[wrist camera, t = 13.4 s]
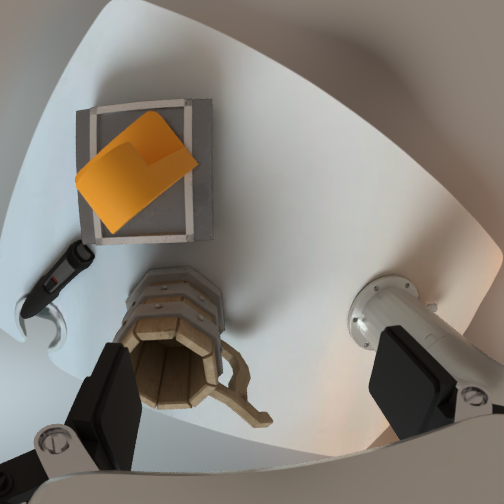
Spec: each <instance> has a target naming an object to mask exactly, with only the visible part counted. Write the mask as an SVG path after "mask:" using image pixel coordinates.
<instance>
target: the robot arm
mask: <svg viewBox="0 0 504 504" xmlns="http://www.w3.org/2000/svg"><path fill="white" fill-rule="evenodd" d="M436 311H437V305H436V304H435V303H433V304H428V305H426V304H425V303H424V302H422V301H421V300H420V298H419V294H418V291H417V289H416V287H415V286H414V285H413V284H412V283H411V282H410V281H409V280H407V279H406V278H404V277H401V276H397V275H389V276H384V277H381V278H379V279H377V280H374V281H373V282H371V283H370V284H369V285H367V286H366V287H365V288H364V289H363V290H362V291H361V292H360V293H359V295H358V296H357V297H356V299H355V301H354V302H353V304H352V306H351V309H350V312H349V317H348V328H349V333H350V335H351V337H352V338H353V340H354V341H355V343H357V344H358V345H359V346H360V347H362V348H363V349H367V350H374V351H376V357H375V361H374V365H373V370H372V374H371V378H370V382H369V392H370V394H371V395H372V397H373V398H374V400H375V402H376V403H377V405H378V406H379V408H380V409H381V411H382V413H383V414H384V416H385V417H386V419H387V420H388V422H389V424H390V425H391V427H392V428H393V430H394V431H395V433H396V435H397V436H398V438H399V439H400V441H397V442H393V443H390V444H387V445H383V446H379V447H375V448H372V449H368V450H364V451H360V452H355V453H351V454H347V455H342V456H338V457H333V458H328V459H322V460H317V461H311V462H305V463H300V464H293V465H286V466H278V467H270V468H261V469H250V470H237V471H220V472H144V471H131V466H132V460H133V455H134V449H135V444H136V438H137V433H138V428H139V423H140V418H141V413H142V403H141V399H140V395H139V391H138V387H137V383H136V379H135V375H134V371H133V366H132V362H131V357H130V352H129V349H128V347H124V345H123V344H122V343H106V344H105V347H104V349H103V351H102V353H101V355H100V357H99V359H98V361H97V363H96V366H95V368H94V370H93V372H92V374H91V376H90V377H86V378H85V379H84V381H83V383H82V385H81V388H80V390H79V392H78V394H77V396H76V398H75V401H74V403H73V405H72V407H71V410H70V412H69V414H68V417H67V419H66V421H65V424H64V425H62V424H52V425H48V426H46V427H44V428H42V429H41V430H40V431H39V432H38V433H37V435H36V436H35V438H34V447H35V449H34V450H32V451H29V452H27V453H25V454H22V455H20V456H18V457H15V458H13V459H11V460H8V461H6V462H4V463H1V464H0V504H504V365H502V364H500V363H499V362H497V361H496V360H494V359H493V358H491V357H489V356H488V355H487V354H486V353H484V352H483V351H482V350H480V349H479V348H478V347H476V346H475V345H474V344H473V343H471V342H470V341H469V340H467V339H466V338H465V337H464V336H462V335H461V334H460V333H459V332H457V331H456V330H455V329H454V328H453V327H451V326H450V325H449V324H448V323H446V322H445V321H444V320H443V319H441V318H440V317H439V316H438V315H436V314H435V313H434V312H436Z"/></svg>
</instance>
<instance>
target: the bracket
mask: <svg viewBox="0 0 504 504" xmlns="http://www.w3.org/2000/svg"><path fill="white" fill-rule="evenodd" d="M197 165H199V164H198V163H197V162H196V160H195V159H194V158H193V156H192V155H191V154H190V152H189V151H188V150H187V149H186V147H185V146H184V145H183V143H182V142H181V141H180V139H179V138H178V137H177V136H176V134H175V133H174V132H173V130H172V129H171V128H170V127H169V125H168V124H167V123H166V121H165V120H164V119H163V117H162V116H161V115H159V114H158V113H157V112H155V111H148V112H146V113H145V114H143V115H142V116H141V117H140V118H138V119H137V120H136V121H135V122H133V123H132V124H131V125H130V126H129V127H127V128H126V129H125V130H124V131H123V132H122V133H120V134H119V135H118V136H117V137H116V138H115V139H114V140H112V141H111V142H110V143H109V144H108V145H107V146H106V147H105V148H103V149H102V150H101V151H100V152H99V153H98V154H97V155H96V156H95V157H94V158H93V159H92V160H90V161H89V162H88V163H87V164H86V165H85V166H84V167H83V168H82V169H81V170H80V171H79V172H78V173H77V175H76V178H75V183H76V188H77V189H78V190H79V192H80V193H81V194H82V196H83V197H84V198H85V200H86V201H87V202H88V204H89V205H90V206H91V208H92V209H93V210H94V212H95V213H96V214H97V215H98V217H99V218H100V219H101V221H102V222H103V223H104V224H105V226H106V227H107V228H108V229H109V231H110V232H111V233H112V234H114V233H116V232H117V231H118V230H119V229H120V228H121V227H123V226H124V225H125V224H126V223H127V222H128V221H129V220H131V219H132V218H133V217H134V216H135V215H136V214H138V213H139V212H140V211H141V210H142V209H144V208H145V207H146V206H147V205H148V204H150V203H151V202H152V201H153V200H154V199H156V198H157V197H158V196H159V195H161V194H162V193H163V192H164V191H166V190H167V189H168V188H169V187H170V186H172V185H173V184H174V183H176V182H177V181H178V180H179V179H181V178H182V177H183V176H184V175H186V174H187V173H188V172H190V171H191V170H192V169H193V168H195V167H196V166H197Z"/></svg>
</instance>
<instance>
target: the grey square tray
mask: <svg viewBox="0 0 504 504" xmlns="http://www.w3.org/2000/svg"><path fill="white" fill-rule="evenodd" d="M148 111H155V112H157V113H158V114H159V115H161V116H162V117H163V119H164V120H165V121H166V123H167V124H168V125H169V127H170V128H171V129H172V130H173V132H174V133H175V134H176V136H177V137H178V138H179V139H180V141H181V142H182V143H183V145H184V146H185V147H186V149H187V150H188V151H189V152H190V154H191V155H192V156H193V158H194V159H195V160H196V162H197V163H198V164H199V165H197V166H196V167H195V168H193V169H192V170H191V171H190V172H188V173H187V174H186V175H184V176H183V177H182V178H181V179H179V180H178V181H177V182H176V183H174V184H173V185H172V186H170V187H169V188H168V189H167V190H166V191H164V192H163V193H162V194H161V195H159V196H158V197H157V198H156V199H154V200H153V201H152V202H151V203H150V204H148V205H147V206H146V207H145V208H144V209H142V210H141V211H140V212H139V213H138V214H136V215H135V216H134V217H133V218H132V219H131V220H129V221H128V222H127V223H126V224H125V225H124V226H123V227H121V228H120V229H119V230H118V231H117V232H116V233H114V234H112V233H111V232H110V231H109V229H108V228H107V227H106V226H105V224H104V223H103V222H102V221H101V219H100V218H99V217H98V215H97V214H96V213H95V212H94V210H93V209H92V208H91V206H90V205H89V204H88V202H87V201H86V200H85V198H84V197H83V196H82V194H81V193H80V192H79V190H78V203H79V215H80V225H81V235H82V243H83V245H84V244H96V245H118V244H146V243H176V242H194V240H213V207H212V99H172V100H157V101H144V102H134V103H124V104H116V105H108V106H100V107H93V108H90V109H86V110H79V111H76V169H77V173H78V172H79V171H80V170H81V169H82V168H83V167H84V166H85V165H86V164H87V163H88V162H89V161H90V160H92V159H93V158H94V157H95V156H96V155H97V154H98V153H99V152H100V151H101V150H102V149H103V148H105V147H106V146H107V145H108V144H109V143H110V142H111V141H112V140H114V139H115V138H116V137H117V136H118V135H119V134H120V133H122V132H123V131H124V130H125V129H126V128H127V127H129V126H130V125H131V124H132V123H133V122H135V121H136V120H137V119H138V118H140V117H141V116H142V115H143V114H145V113H146V112H148Z"/></svg>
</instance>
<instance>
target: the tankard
mask: <svg viewBox="0 0 504 504" xmlns="http://www.w3.org/2000/svg"><path fill="white" fill-rule="evenodd" d="M126 306H127V310H128V311H127V313H126V314H125V316H124V318H123V321H122V327H121V328H120V329H119V331H118V332H117V333H116V335H115V338H114V340H113V342H112V343H122V344H123V345H124V347H128V349H129V352H130V357H131V362H132V366H133V371H134V375H135V379H136V383H137V387H138V391H139V395H140V399H141V401H142V402H144V403H145V404H147V405H149V406H151V407H152V408H154V409H155V407H156V406H157V409H186V408H192V405H193V407H196V406H197V405H198V404H199V403H200V402H201V401H202V400H203V399H205V398H206V397H207V396H208V395H209V396H211V397H213V398H215V399H217V400H219V401H221V402H222V403H224V404H226V405H227V406H228V407H230V408H231V409H232V410H233V411H234V412H236V413H237V414H238V415H239V416H241V417H242V418H243V419H244V420H245V421H246V422H247V423H248V424H250V425H251V426H252V427H253V428H262V427H268V426H269V425H270V424H272V423H273V420H272V418H271V417H270V416H269V414H268V413H267V412H258V411H257V410H256V409H255V408H254V407H253V406H252V405H251V404H250V403H249V402H248V400H247V387H248V384H249V381H250V379H251V377H250V372H249V368H248V366H247V364H246V363H245V361H244V359H243V358H242V356H241V354H240V353H239V352H238V351H236V350H235V349H234V348H232V347H231V346H230V345H229V344H227V343H226V342H224V341H223V340H221V339H220V334H221V333H222V332H223V331H224V330H225V325H224V315H223V306H222V296H221V290H220V289H219V288H217V287H216V286H215V285H213V284H212V283H211V282H210V281H208V280H207V279H206V278H204V277H203V276H202V275H200V274H199V273H198V272H197V271H195V270H194V269H193V268H191V267H190V266H183V267H171V268H160V269H149V271H148V272H147V273H146V274H145V276H144V277H143V278H142V280H141V281H140V282H139V284H138V285H137V286H136V287H135V289H134V290H133V291H132V293H131V294H130V295H129V297H128V298H127V300H126ZM222 357H224V358H225V359H226V360H227V361H228V362H229V363H230V365H231V367H232V369H233V376H232V378H231V380H230V382H229V384H228V388H227V387H226V386H224V385H222V384H221V383H219V382H218V377H219V376H220V375H221V374H222V373H223V365H222Z"/></svg>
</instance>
